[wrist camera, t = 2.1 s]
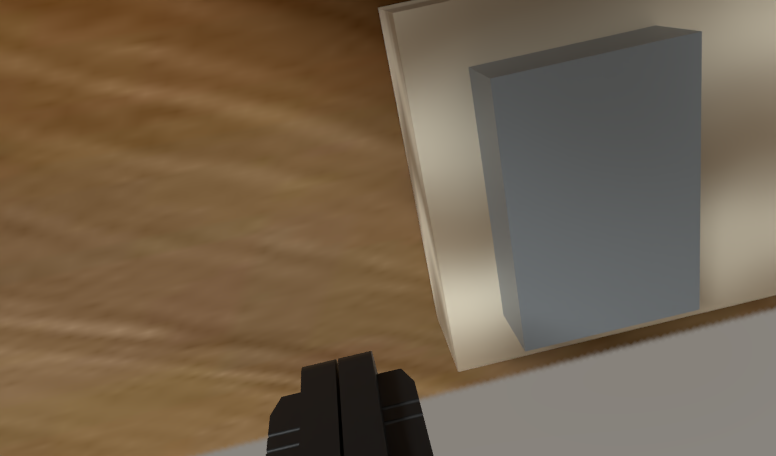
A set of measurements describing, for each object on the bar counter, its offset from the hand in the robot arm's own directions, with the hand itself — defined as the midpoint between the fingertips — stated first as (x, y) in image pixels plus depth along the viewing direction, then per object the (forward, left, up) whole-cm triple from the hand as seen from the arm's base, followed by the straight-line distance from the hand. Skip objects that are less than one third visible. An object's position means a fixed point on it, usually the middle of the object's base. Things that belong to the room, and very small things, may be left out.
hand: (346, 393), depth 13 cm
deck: (0, +10, -12) cm, 16 cm away
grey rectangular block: (0, +8, -7) cm, 11 cm away
